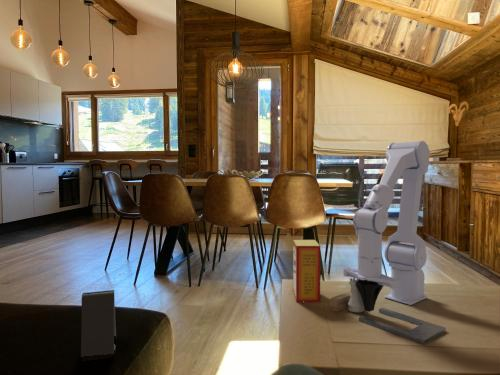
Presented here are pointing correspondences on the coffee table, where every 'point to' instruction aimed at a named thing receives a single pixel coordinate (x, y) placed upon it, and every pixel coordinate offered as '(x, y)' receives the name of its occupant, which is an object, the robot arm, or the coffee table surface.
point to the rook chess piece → (355, 298)
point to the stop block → (340, 301)
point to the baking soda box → (306, 270)
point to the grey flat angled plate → (418, 334)
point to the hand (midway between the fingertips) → (369, 310)
